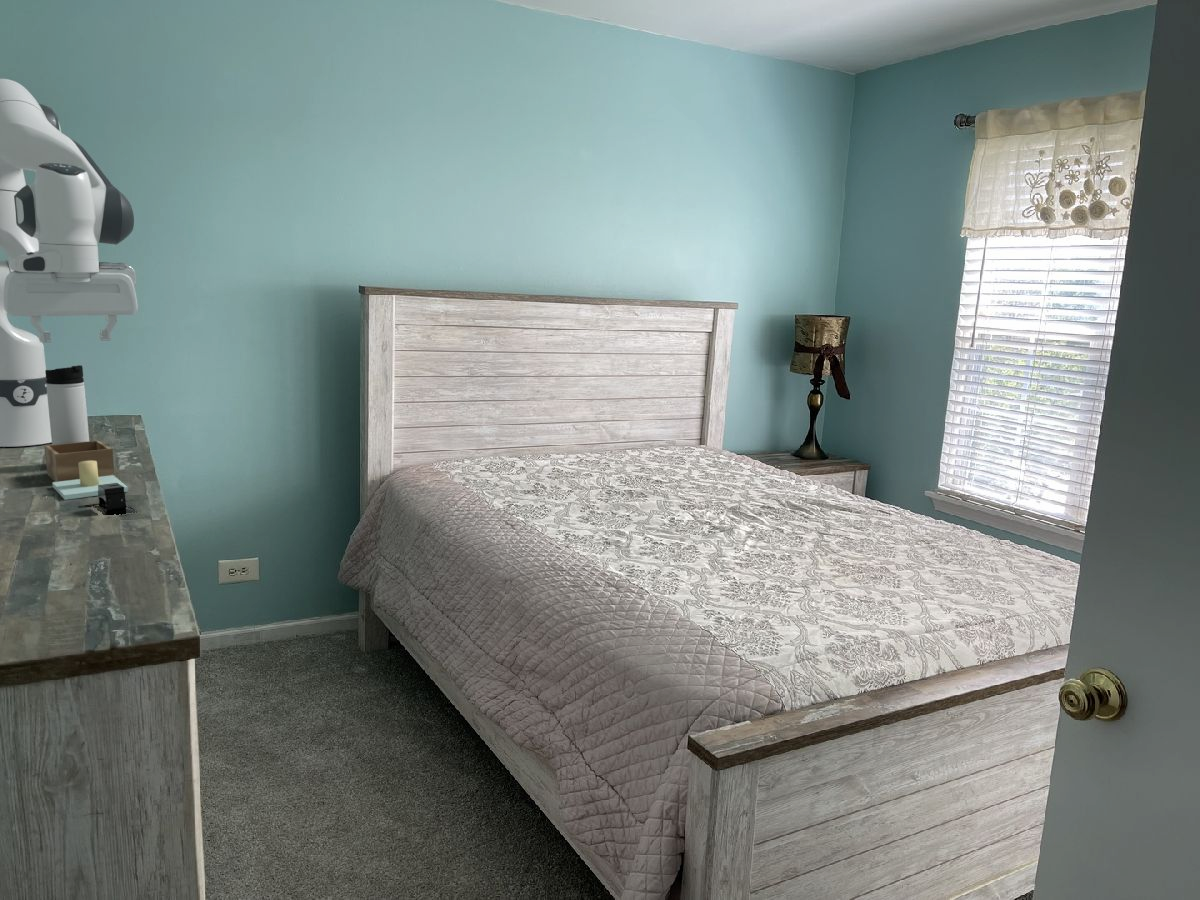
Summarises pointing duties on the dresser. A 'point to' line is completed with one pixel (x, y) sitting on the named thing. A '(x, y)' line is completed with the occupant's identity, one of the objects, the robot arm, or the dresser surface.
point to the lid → (85, 482)
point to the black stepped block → (112, 500)
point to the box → (77, 459)
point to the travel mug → (67, 405)
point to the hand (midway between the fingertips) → (76, 341)
